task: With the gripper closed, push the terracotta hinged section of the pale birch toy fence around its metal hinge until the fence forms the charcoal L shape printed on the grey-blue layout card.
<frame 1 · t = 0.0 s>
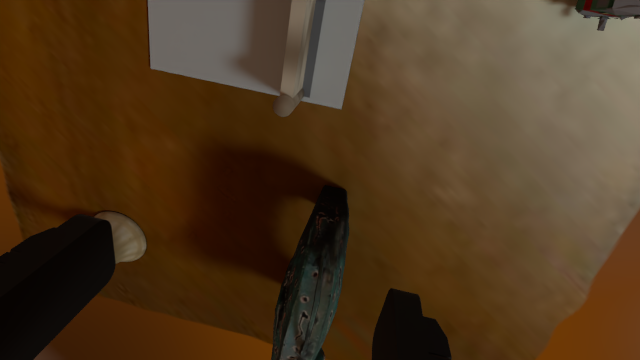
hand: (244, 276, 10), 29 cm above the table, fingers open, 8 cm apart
black animal figurine: (320, 246, 46), on the table
hand bell: (119, 235, 50), on the table
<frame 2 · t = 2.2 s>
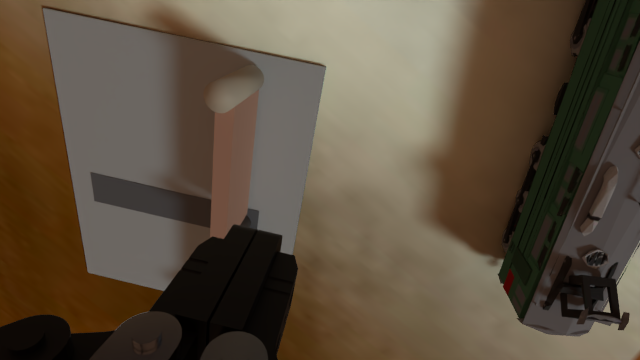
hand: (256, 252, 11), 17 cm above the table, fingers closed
layout card: (184, 189, 31), on the table
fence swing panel: (232, 161, 25), point 4 cm above the table, hinge at 0.0°
toy train: (578, 96, 24), on the table
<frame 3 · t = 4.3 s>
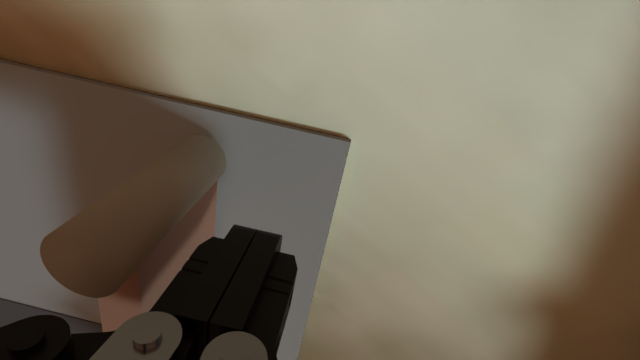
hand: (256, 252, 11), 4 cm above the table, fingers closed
layout card: (104, 316, 19), on the table
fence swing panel: (162, 324, 13), point 4 cm above the table, hinge at 0.5°, touching gripper
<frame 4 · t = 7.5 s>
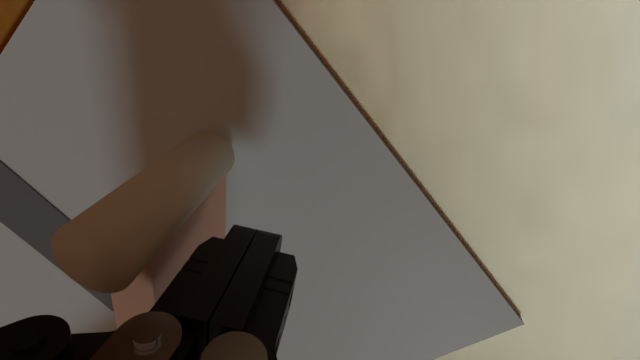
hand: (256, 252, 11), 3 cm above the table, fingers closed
layout card: (160, 284, 17), on the table
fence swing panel: (176, 323, 12), point 4 cm above the table, hinge at 42.4°, touching gripper
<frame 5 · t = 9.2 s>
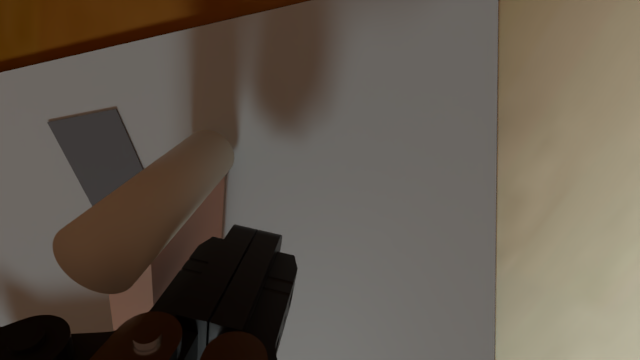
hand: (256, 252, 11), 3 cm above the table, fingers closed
layout card: (203, 282, 16), on the table
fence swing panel: (171, 322, 12), point 4 cm above the table, hinge at 68.6°, touching gripper
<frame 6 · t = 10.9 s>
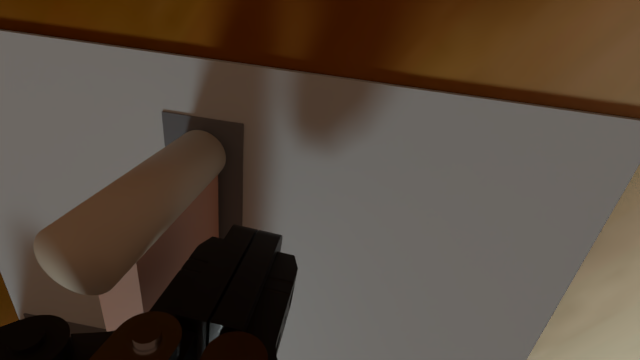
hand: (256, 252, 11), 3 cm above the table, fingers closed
layout card: (248, 295, 16), on the table
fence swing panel: (169, 324, 12), point 4 cm above the table, hinge at 89.4°
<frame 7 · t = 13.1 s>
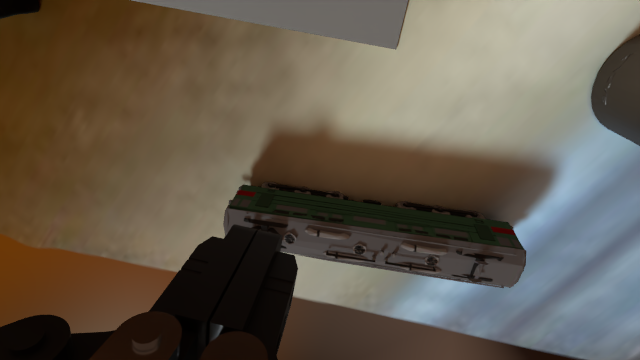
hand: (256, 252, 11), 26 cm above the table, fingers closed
toy train: (368, 209, 40), on the table
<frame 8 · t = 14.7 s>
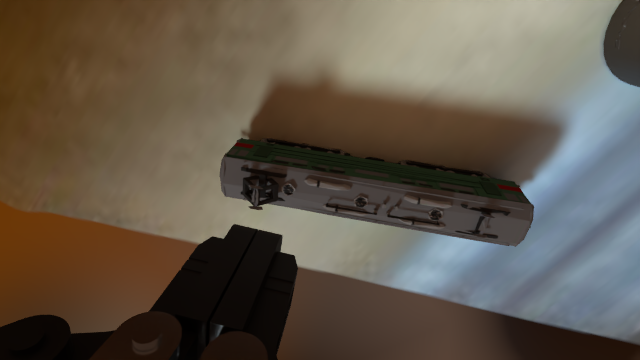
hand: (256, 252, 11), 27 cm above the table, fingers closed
toy train: (370, 169, 39), on the table
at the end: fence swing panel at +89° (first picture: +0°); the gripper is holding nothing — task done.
